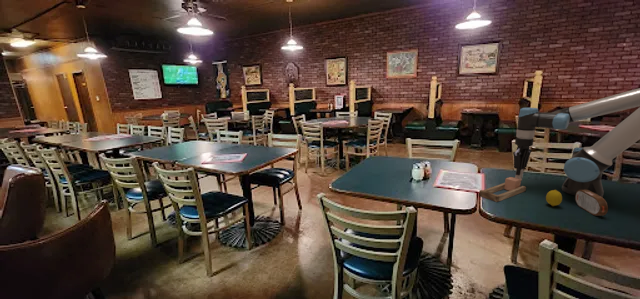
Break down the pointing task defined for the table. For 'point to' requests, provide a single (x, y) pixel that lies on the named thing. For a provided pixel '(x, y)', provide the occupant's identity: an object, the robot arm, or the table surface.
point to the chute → (489, 194)
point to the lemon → (554, 197)
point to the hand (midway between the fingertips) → (518, 180)
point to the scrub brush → (591, 202)
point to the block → (512, 183)
